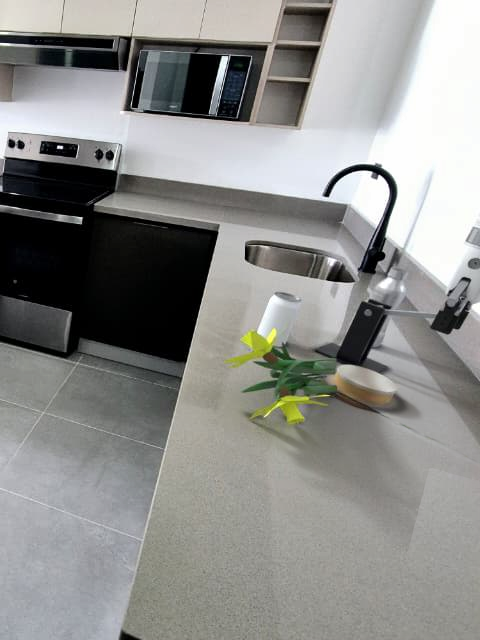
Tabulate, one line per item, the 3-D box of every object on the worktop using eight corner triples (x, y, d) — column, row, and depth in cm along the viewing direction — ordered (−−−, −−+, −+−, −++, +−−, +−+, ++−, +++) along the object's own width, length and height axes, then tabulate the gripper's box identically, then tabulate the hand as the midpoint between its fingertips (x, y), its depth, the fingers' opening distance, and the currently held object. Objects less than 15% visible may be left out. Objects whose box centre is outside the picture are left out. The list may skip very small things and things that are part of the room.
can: (279, 352, 115) (299, 304, 110) (251, 340, 119) (268, 294, 114) (287, 344, 120) (306, 298, 115) (259, 334, 123) (277, 289, 118)
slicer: (385, 371, 113) (416, 311, 107) (369, 379, 108) (401, 317, 102) (330, 347, 122) (355, 291, 115) (313, 354, 116) (339, 295, 110)
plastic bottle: (348, 344, 125) (384, 268, 117) (349, 336, 130) (383, 263, 122) (378, 353, 122) (417, 277, 114) (378, 345, 127) (415, 271, 119)
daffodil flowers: (377, 417, 94) (316, 429, 71) (292, 417, 105) (214, 428, 81) (363, 328, 97) (299, 312, 73) (281, 337, 107) (203, 326, 84)
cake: (386, 387, 106) (394, 371, 104) (411, 422, 93) (421, 405, 92) (313, 368, 109) (320, 353, 108) (328, 400, 97) (337, 383, 95)
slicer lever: (460, 321, 100) (461, 309, 100) (451, 325, 97) (452, 313, 96) (370, 314, 112) (371, 303, 112) (360, 317, 109) (361, 306, 109)
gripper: (508, 251, 85) (454, 344, 92) (530, 245, 95) (479, 330, 102) (455, 238, 90) (407, 327, 98) (480, 233, 100) (435, 315, 108)
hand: (444, 328), depth 100 cm, fingers closed on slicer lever, 5 cm apart
